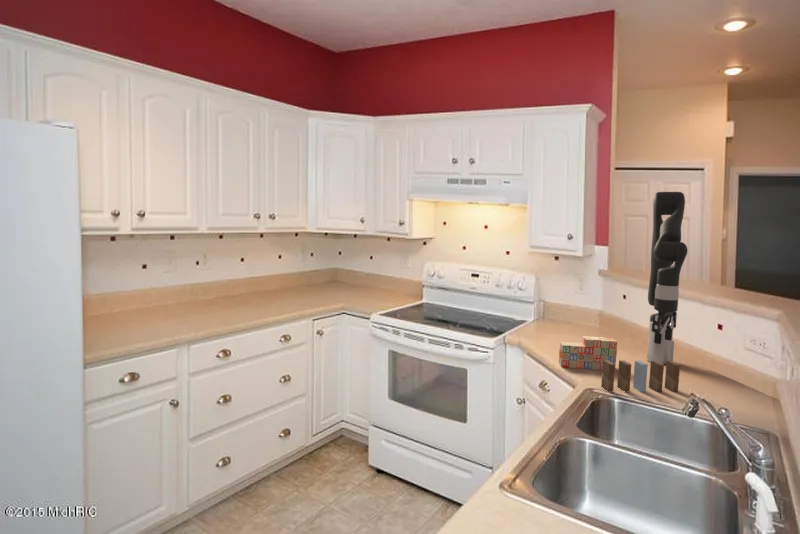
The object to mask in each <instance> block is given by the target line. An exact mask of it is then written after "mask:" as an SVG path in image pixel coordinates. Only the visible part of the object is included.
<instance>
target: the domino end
mask: <svg viewBox="0 0 800 534" xmlns="http://www.w3.org/2000/svg"><path fill="white" fill-rule="evenodd" d="M615 364H616V363H615ZM615 364H614V363H612V362H610V361H609V360H603V369H602V370H601V385H600V387H603V388H604V389H605V390H604V389H603V388H602V389H603V390H604V391H606V390H607V391H613V392H614V386H615V385H614V382H615V371H616V365H615ZM607 391H606V392H607Z"/></svg>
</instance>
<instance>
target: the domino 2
mask: <svg viewBox="0 0 800 534" xmlns="http://www.w3.org/2000/svg"><path fill="white" fill-rule="evenodd" d="M648 365H649V364H648V363H645V362H644V361H642V360H634V367H633V382H632V388H633V389H634V390H636V389H637V390H636V391H637V392H639V391H640V393H646V392H647V391H646V390H647V377H648Z"/></svg>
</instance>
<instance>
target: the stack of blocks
mask: <svg viewBox="0 0 800 534" xmlns="http://www.w3.org/2000/svg"><path fill="white" fill-rule="evenodd" d="M617 348H618V341H617V340H616V339H615V338H612V337H604V336H586V335H583V336H582V341H581V342H566V341H560V342H559V351H558V363H559V366H560V367H561V368H569V369H571V368H573V369H583V370H584V369H586V370H601V371H602V369H603V360H609V361H610V362H612V363H614V364H615V366H616V364H617V363H616V362H617V355H618V354H617V353H618V349H617Z"/></svg>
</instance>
